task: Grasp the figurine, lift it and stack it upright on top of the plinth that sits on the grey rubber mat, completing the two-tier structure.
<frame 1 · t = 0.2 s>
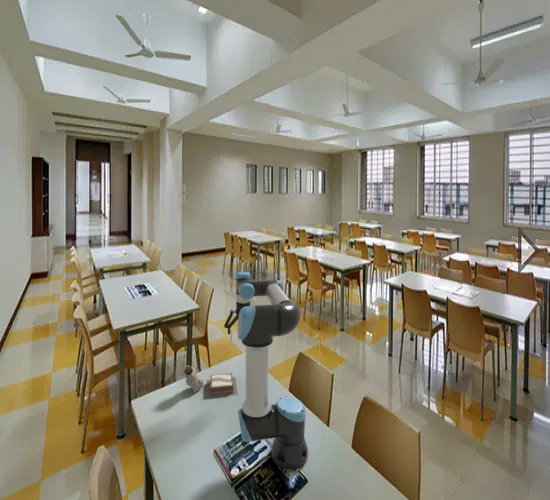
hand: (243, 338, 167), 28 cm above the table, fingers open, 13 cm apart
figurine: (194, 391, 167), on the table
plinth: (221, 383, 169), on the mat
mat: (221, 387, 170), on the table
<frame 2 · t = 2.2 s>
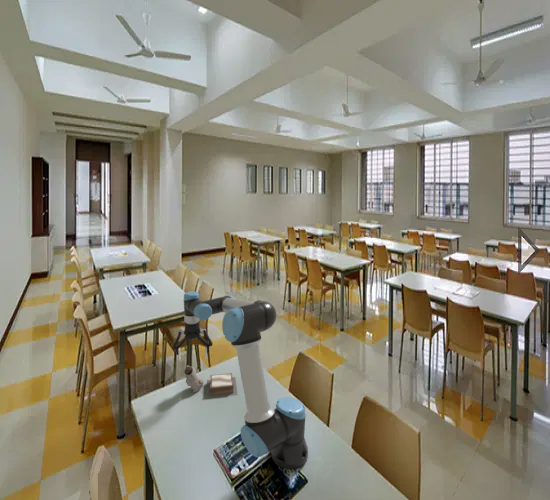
hand: (193, 359, 164), 18 cm above the table, fingers open, 13 cm apart
nothing on the table moved.
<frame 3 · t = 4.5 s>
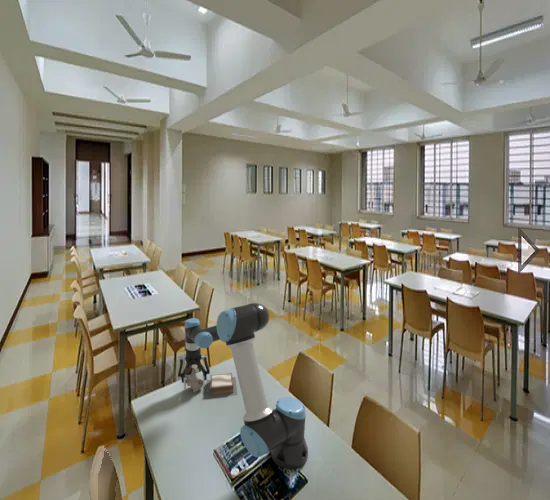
hand: (194, 386, 167), 3 cm above the table, fingers closed on figurine, 9 cm apart
figurine: (194, 391, 167), on the table, touching gripper
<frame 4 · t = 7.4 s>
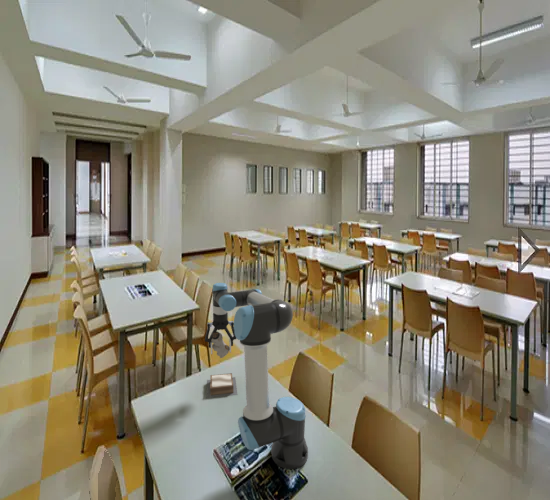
hand: (221, 352, 166), 21 cm above the table, fingers closed on figurine, 9 cm apart
figurine: (220, 356, 166), point 18 cm above the table, touching gripper
when the fingers open (8 cm above the table, at t = 10.7 s): figurine drops 1 cm, resting on plinth.
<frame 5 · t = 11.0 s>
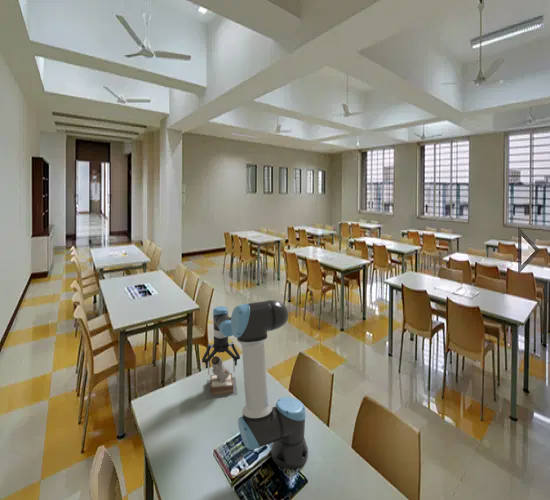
hand: (221, 372, 168), 9 cm above the table, fingers open, 13 cm apart
figurine: (220, 380, 169), point 4 cm above the table, touching plinth
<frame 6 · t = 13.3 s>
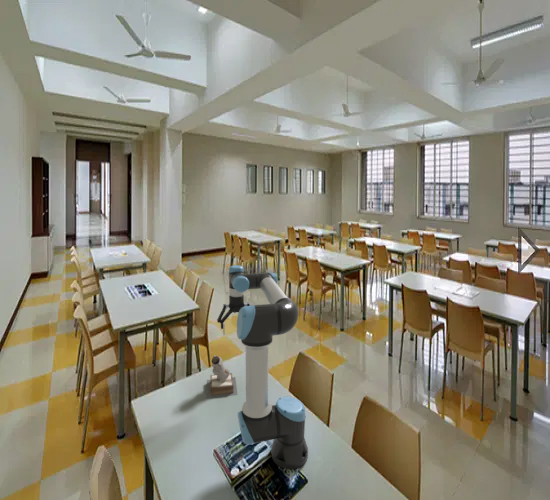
hand: (236, 333, 166), 31 cm above the table, fingers open, 13 cm apart
nothing on the table moved.
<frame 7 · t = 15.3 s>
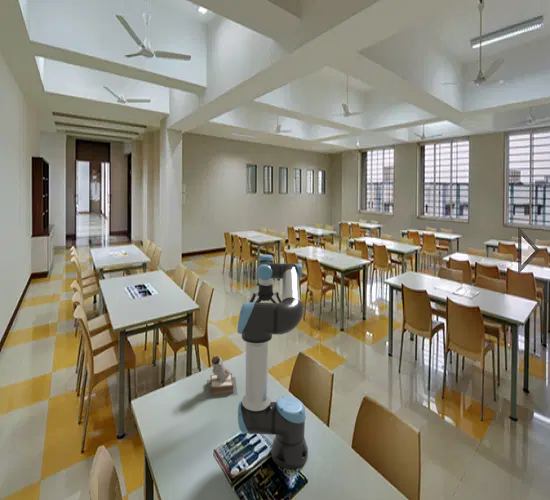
hand: (265, 321, 169), 37 cm above the table, fingers open, 13 cm apart
nothing on the table moved.
at the end: figurine inside the target area on the plinth (0.4 cm from its centre), point 4.0 cm above the plinth's base; figurine touching plinth; figurine tilted 0° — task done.
